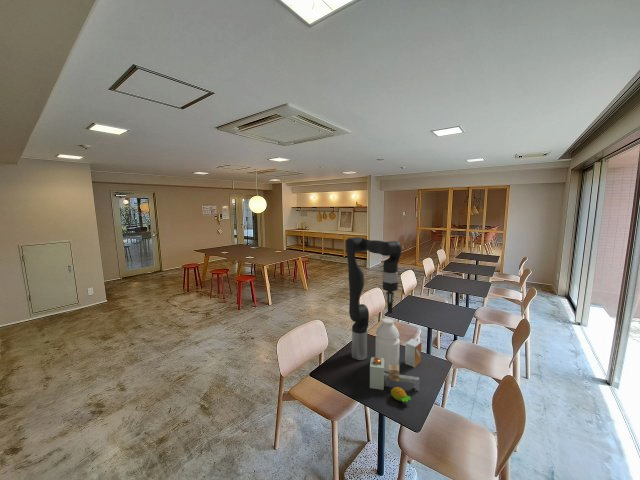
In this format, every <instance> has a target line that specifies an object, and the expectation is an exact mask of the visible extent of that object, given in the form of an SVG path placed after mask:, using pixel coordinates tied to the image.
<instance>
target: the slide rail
mask: <svg viewBox="0 0 640 480" xmlns="http://www.w3.org/2000/svg"><path fill="white" fill-rule="evenodd" d="M388 382H389V372H384V387H389V385H388V384H389V383H388ZM399 382H405V383H411V384H414V391H417V392H419V391H420V377H419V376H412V375H404V374H399Z"/></svg>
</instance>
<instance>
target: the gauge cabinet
mask: <svg viewBox="0 0 640 480" xmlns="http://www.w3.org/2000/svg"><path fill="white" fill-rule="evenodd" d="M374 358H376V357H375V356H371V357H370V362H369V363H370V364H369V389H376V390H381V391H385V390H384V388H385V386H384V373H385V371H384V358H380V359H381V363H380V365H377V364H374V361H373V359H374Z"/></svg>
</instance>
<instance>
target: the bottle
mask: <svg viewBox="0 0 640 480" xmlns="http://www.w3.org/2000/svg"><path fill="white" fill-rule="evenodd" d="M375 334H376V336H375V340H374V341H375V356H374V357H376V358H384V372H385V373H389V364H391V365H399V366H400V348H401V347H400V343H401V340H400V338H399V337H400V332H399V330H398V328H397V326H396V325H395V322H394V320H393V318H389V317H384V318H382V320H381V324H380V325H378V327H377V328H376V331H375Z"/></svg>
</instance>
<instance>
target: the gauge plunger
mask: <svg viewBox="0 0 640 480" xmlns="http://www.w3.org/2000/svg"><path fill="white" fill-rule="evenodd" d="M373 361H374V364H377V365H380V363H381V359H380V358H374V359H373Z"/></svg>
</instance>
